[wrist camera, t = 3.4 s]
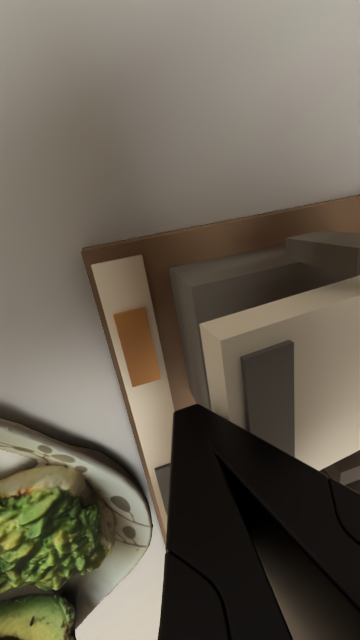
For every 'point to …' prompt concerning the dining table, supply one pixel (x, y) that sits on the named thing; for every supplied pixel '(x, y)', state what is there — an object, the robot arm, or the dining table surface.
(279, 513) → the robot arm
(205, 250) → the switch console
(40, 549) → the salad plate
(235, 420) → the switch
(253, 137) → the dining table surface
